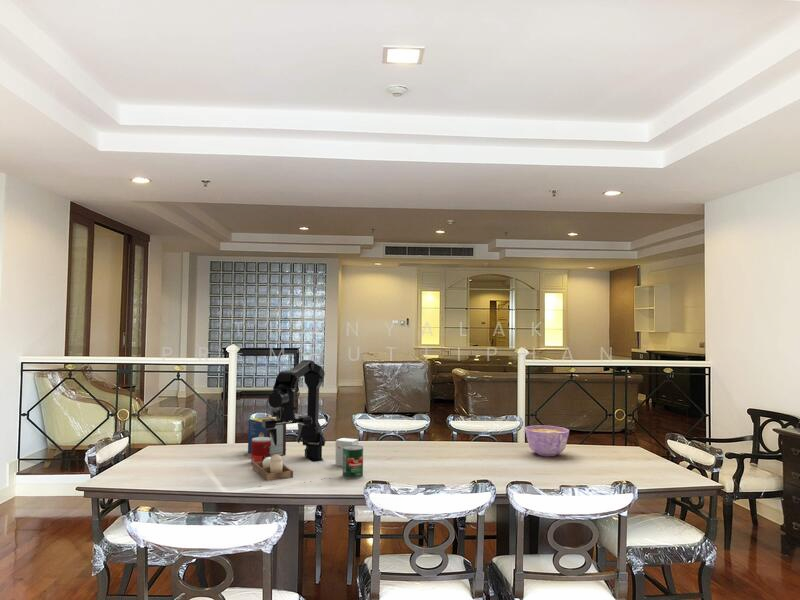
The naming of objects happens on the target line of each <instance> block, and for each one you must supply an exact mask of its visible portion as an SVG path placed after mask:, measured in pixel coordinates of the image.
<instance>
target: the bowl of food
mask: <svg viewBox="0 0 800 600" xmlns="http://www.w3.org/2000/svg"><path fill="white" fill-rule="evenodd" d="M524 432H525V435H526V436H525V437H526V440H527V444H528V447H529V448H530V450H531V451H533V452H534V453H537V455H538V456H542V457H556V456H557V455H558V454H560V453H562V452H564V450H566V446H567V442H568V439H569V434H570V429H568V428H565V427H562V426H557V425H544V424H543V425H540V424H539V425H528V426H524Z"/></svg>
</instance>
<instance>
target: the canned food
mask: <svg viewBox="0 0 800 600" xmlns="http://www.w3.org/2000/svg"><path fill="white" fill-rule="evenodd" d="M250 457H251V458H250V459H251V460H250V461H251V462H250V463H251V464H252V465H253V462H263V460H264V459H265V458H266V457H271V438H269V437H256V438H253V439H252V447H251V455H250Z"/></svg>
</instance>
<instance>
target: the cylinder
mask: <svg viewBox="0 0 800 600" xmlns="http://www.w3.org/2000/svg"><path fill="white" fill-rule="evenodd" d="M283 461H284V460H283V457H282V456H280V455H278V454H275V455H273V456H272V457H271V459H270V473H278V472H282V470H283V464H284V462H283Z"/></svg>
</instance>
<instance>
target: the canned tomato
mask: <svg viewBox="0 0 800 600" xmlns="http://www.w3.org/2000/svg"><path fill="white" fill-rule="evenodd" d="M362 477H364V446H362V445H359V444H358V445H349V446H344V447H343V466H342V478H345V479H353V480H354V479H355V480H357V479H361V478H362Z"/></svg>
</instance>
